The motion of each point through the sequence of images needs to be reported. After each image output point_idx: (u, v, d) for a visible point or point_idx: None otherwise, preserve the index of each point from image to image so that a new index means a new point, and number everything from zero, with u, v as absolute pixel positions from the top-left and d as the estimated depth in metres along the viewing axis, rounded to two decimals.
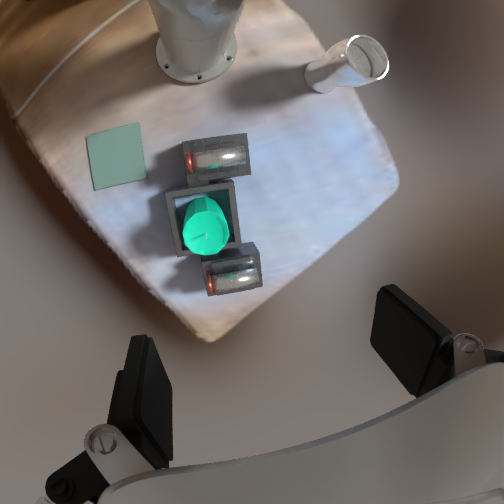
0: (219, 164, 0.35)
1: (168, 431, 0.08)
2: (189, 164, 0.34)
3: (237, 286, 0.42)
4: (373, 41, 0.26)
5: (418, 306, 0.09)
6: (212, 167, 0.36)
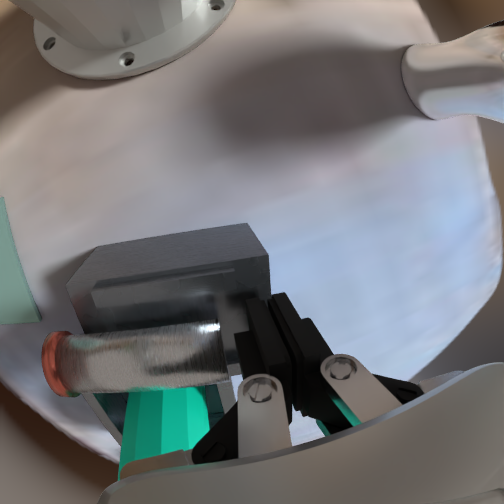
0: (144, 390, 0.10)
1: None
2: (56, 390, 0.08)
3: None
4: None
5: (299, 318, 0.10)
6: None
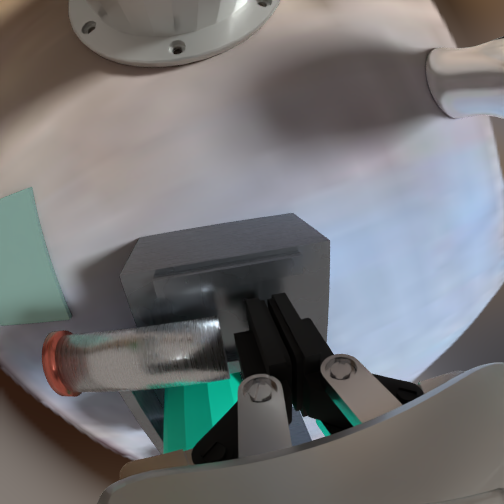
0: (144, 388, 0.10)
1: None
2: (57, 389, 0.08)
3: None
4: None
5: (299, 318, 0.10)
6: None
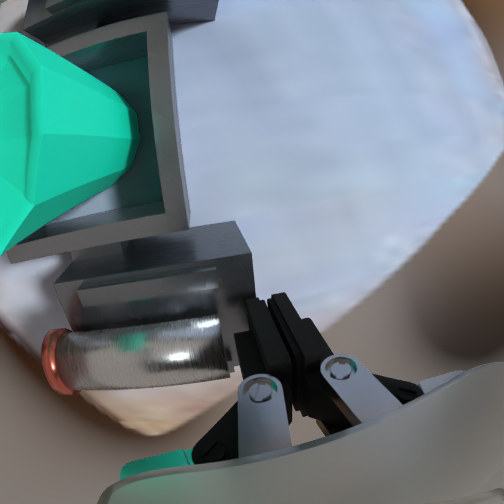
0: None
1: None
2: None
3: (145, 385, 0.09)
4: None
5: (299, 318, 0.10)
6: None
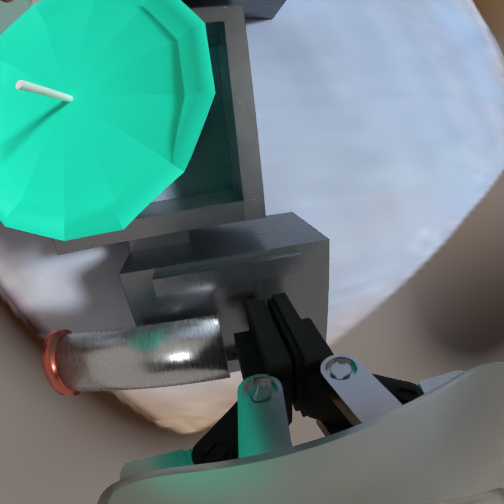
0: None
1: None
2: None
3: (145, 386, 0.09)
4: None
5: (299, 318, 0.10)
6: None
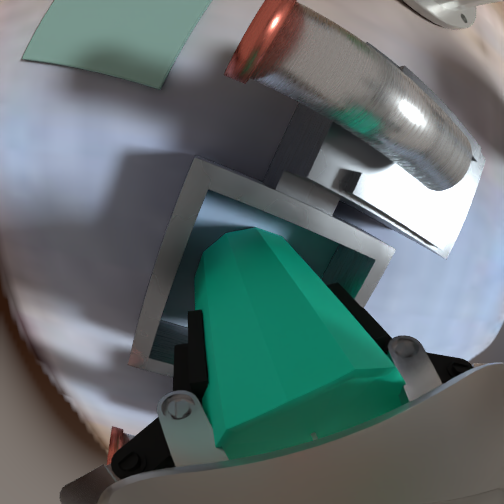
0: (389, 121, 0.06)
1: None
2: (270, 14, 0.04)
3: None
4: None
5: (358, 305, 0.10)
6: (353, 111, 0.06)
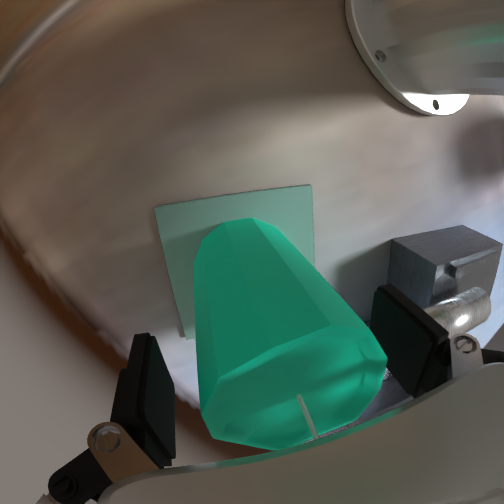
0: None
1: (171, 429, 0.08)
2: None
3: None
4: None
5: (415, 306, 0.09)
6: None
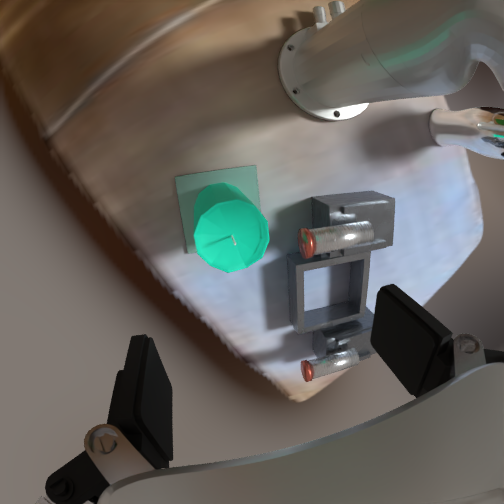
0: (344, 247, 0.28)
1: (168, 431, 0.08)
2: (310, 250, 0.27)
3: (336, 371, 0.34)
4: None
5: (418, 306, 0.09)
6: (334, 250, 0.28)
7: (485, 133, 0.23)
